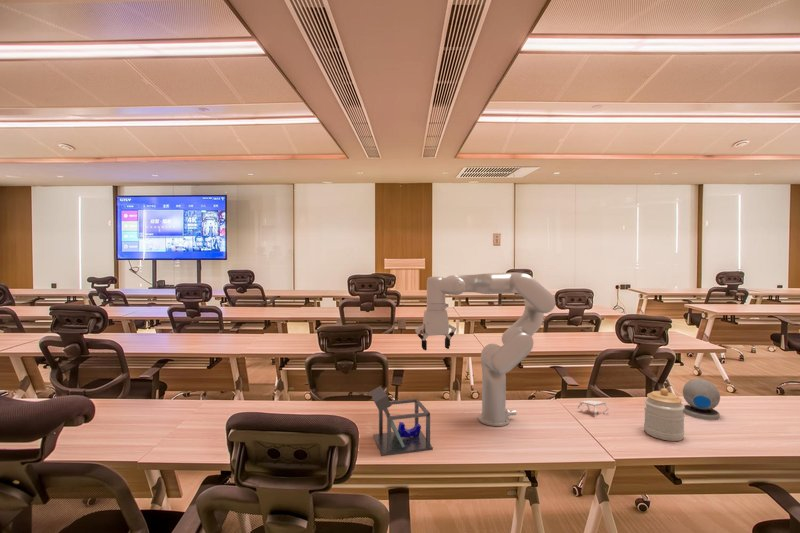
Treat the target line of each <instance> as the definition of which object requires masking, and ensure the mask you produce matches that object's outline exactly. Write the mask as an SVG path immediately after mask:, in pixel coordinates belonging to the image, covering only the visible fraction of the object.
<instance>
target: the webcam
mask: <svg viewBox="0 0 800 533" xmlns="http://www.w3.org/2000/svg"><path fill="white" fill-rule="evenodd" d="M682 395H683V398H684V400H685V402H686V403H687V404H685V405H684V404H683V405H684V406H685V409H684V410H683V414H684V415H687V416H690V417H692V418H696V419H699V420H700V419H701V420H707V421H710V420H712V421H714V420H716V421H717V420H718V419H720V417H721V416H720V412H719V411H717V410H716V409H715V408H716V407H718V405H719V403H720V400H721V394H720V391H719V390H718V388H717V387H716V386H715V385H714V383H712V382H710V381H709V380H706V379H702V378H694V379H691V380H689V381H687V382H686V383H685V384H684V385H683V388H682Z"/></svg>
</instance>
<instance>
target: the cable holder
mask: <svg viewBox="0 0 800 533" xmlns="http://www.w3.org/2000/svg"><path fill="white" fill-rule="evenodd" d="M421 429H422V426H421V424H420V423H419V424H415V423H414V426H413V427H412V428H410V429H409V428H406V424H405V423H404V422H403V421H402V422H401V421H399V423H398V427H397V430H398V432H399V435H400V437H406V438H410V436H417V437H419V433H420V430H421Z"/></svg>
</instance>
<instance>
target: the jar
mask: <svg viewBox="0 0 800 533" xmlns="http://www.w3.org/2000/svg"><path fill="white" fill-rule="evenodd" d="M646 396H647V397H646V398H644V403H645V407H644V410H643V411H644V423H643V427H644V432H645V433H646V434H647V435H649V436H651V437H653V438H656V439H659V440H663V441H668V442H679V441H682V440H684V437H685V413H684V412H683V410H684V409H685V406H684V404H683V403H682V402H683V400H682V398H681V397H679V396H678V395H676V394H675V393H672V392H670V391H669V390H668V389H667V388H663V387H662V388H661V389H660V390H654V391H651V392H649V393H647V394H646Z"/></svg>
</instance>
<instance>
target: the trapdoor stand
mask: <svg viewBox="0 0 800 533" xmlns="http://www.w3.org/2000/svg"><path fill="white" fill-rule="evenodd" d="M389 401H390V403H391V405H403V404H411V403H413V404H414V413H409V414H406V413H405V414H397V415H390V416H387V417H386V432H384V430H383V429H384V426H383V425H384V424H383V422H384V417H383V415H384V410H383V411H381V412H380V411H379V410H378V433H374V434H372V438H373V439H374V441H375V444H376V446H378V447H377V449H378V452H379V453H380V455H381V457H386V456H394V455H402V454H410V453H419V452H426V451H433V449H434V446H432V445H431V413H430V411H429V410H428V409H427V408H426V406H425V405H423V402H421V401H420V399H418V398H411V399H409V398H408V399H398V400H389ZM419 408H420V410H422V411H423V412H419ZM422 417H423V418H424V417H425V434H424V433H423V431H422V430H421V429H420V433H419V437H417V436H410V438H406V437H401V439H402V441H403V443H404V445H405V447H403V448H402V446H401V444H400V442H399V441H398V439H397V437H396V435H395V434H394V431H392V427H391V420H393V421H394V420H396V421H397V420H402V419H413V418H414V425H415V424H420V422H419V418H422Z"/></svg>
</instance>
